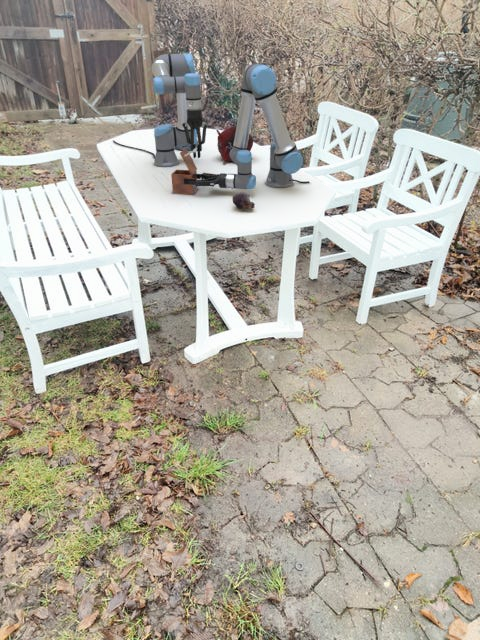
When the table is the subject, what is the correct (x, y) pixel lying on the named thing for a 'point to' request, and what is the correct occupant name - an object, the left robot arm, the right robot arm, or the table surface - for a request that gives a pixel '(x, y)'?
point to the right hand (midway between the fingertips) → (186, 178)
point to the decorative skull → (229, 142)
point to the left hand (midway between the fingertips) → (196, 157)
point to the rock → (242, 201)
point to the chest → (179, 184)
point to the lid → (189, 160)
